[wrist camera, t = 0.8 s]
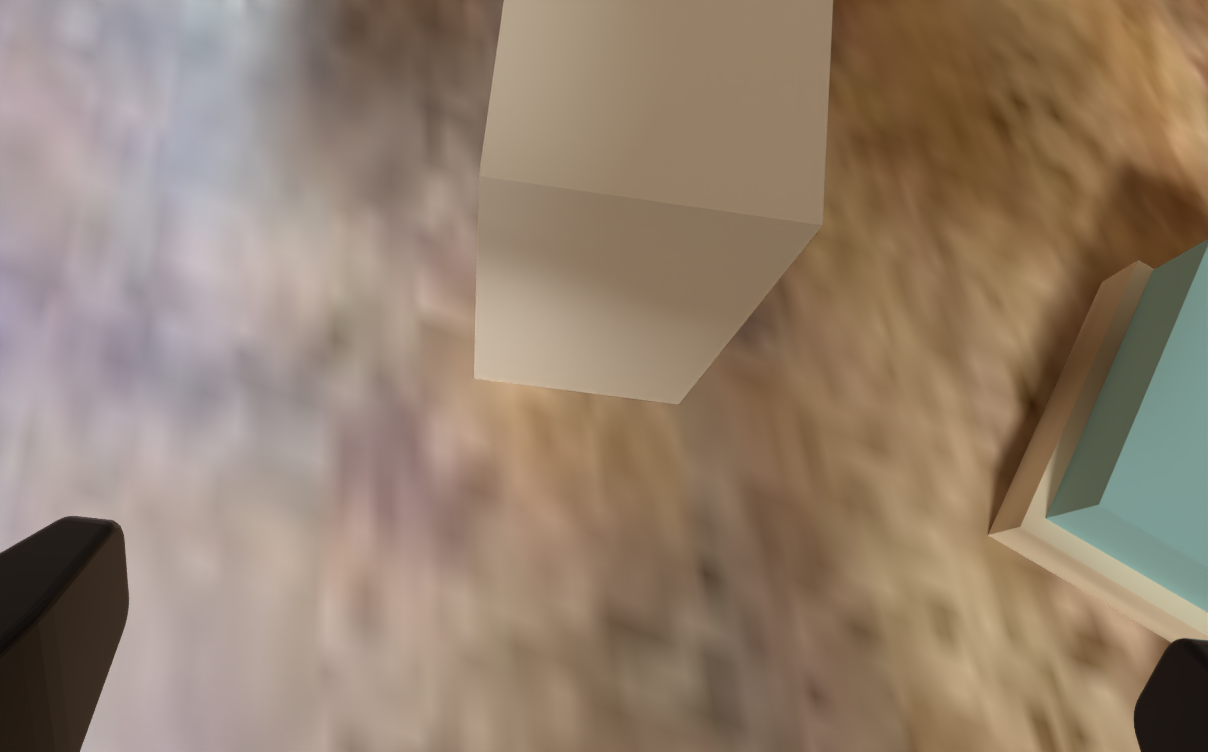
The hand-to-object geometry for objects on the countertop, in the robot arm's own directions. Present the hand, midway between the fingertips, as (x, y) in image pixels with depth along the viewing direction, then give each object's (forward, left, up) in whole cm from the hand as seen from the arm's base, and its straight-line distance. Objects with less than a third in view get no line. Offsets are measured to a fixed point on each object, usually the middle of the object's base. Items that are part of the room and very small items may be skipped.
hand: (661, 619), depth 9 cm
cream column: (+7, -4, -13) cm, 15 cm away
